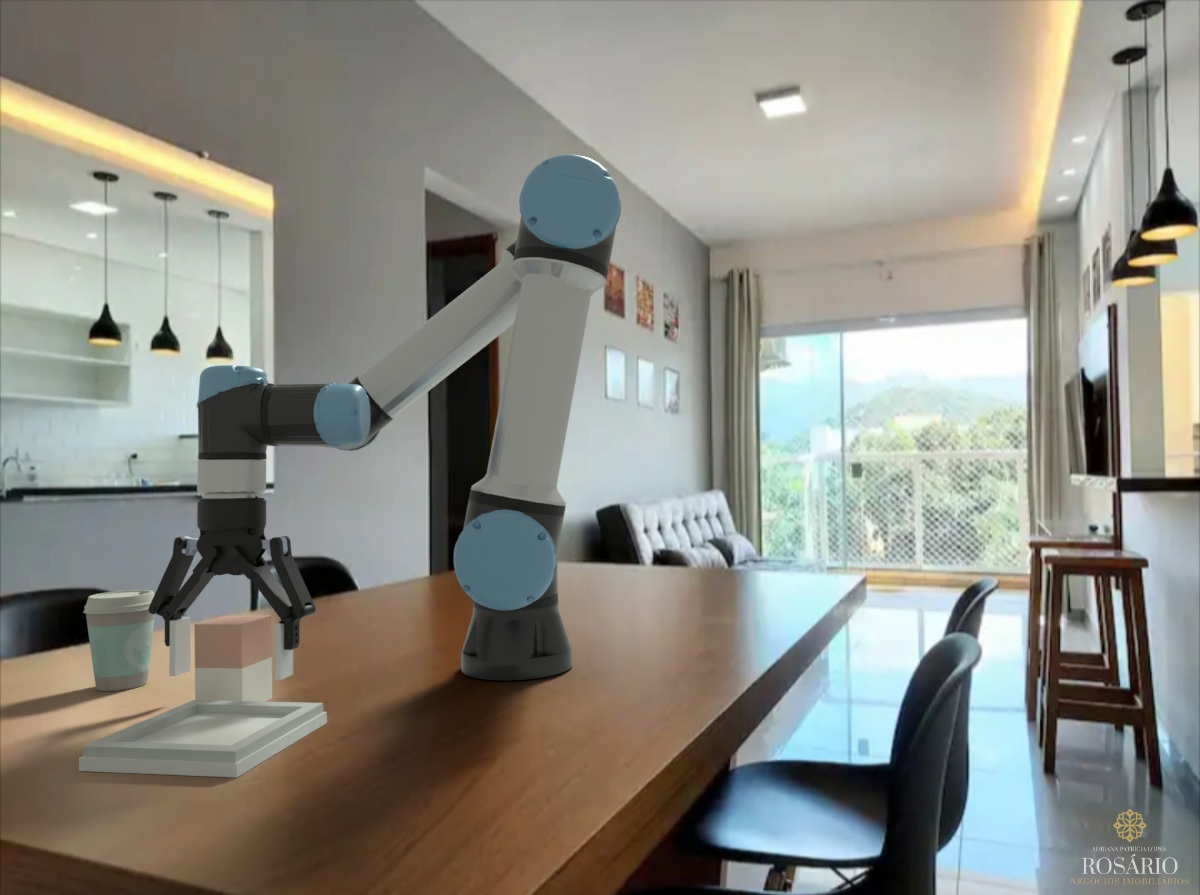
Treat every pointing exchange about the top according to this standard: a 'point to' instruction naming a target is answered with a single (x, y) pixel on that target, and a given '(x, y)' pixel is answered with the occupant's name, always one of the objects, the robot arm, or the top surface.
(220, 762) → the base plate
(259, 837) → the top surface
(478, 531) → the robot arm
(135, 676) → the coffee cup
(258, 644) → the brick stack
